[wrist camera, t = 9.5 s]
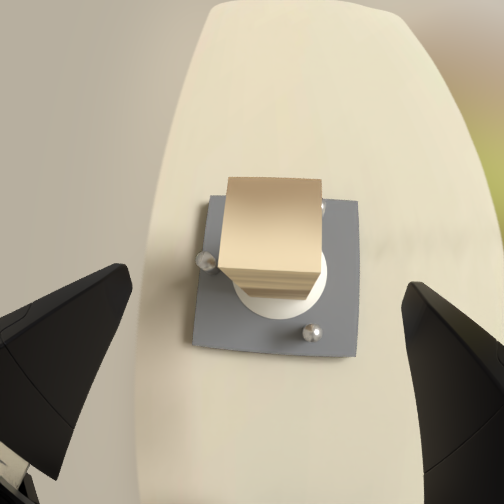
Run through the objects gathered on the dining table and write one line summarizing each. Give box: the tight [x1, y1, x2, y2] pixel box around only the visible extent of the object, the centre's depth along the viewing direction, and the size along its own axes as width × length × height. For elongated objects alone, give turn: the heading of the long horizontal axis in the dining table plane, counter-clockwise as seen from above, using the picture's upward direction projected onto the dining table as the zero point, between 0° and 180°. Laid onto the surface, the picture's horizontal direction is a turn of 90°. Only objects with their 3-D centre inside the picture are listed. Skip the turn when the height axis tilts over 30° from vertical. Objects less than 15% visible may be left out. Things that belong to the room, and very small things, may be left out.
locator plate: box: [192, 196, 360, 357], centre depth 21 cm, size 12×12×4 cm
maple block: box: [218, 177, 322, 300], centre depth 16 cm, size 4×4×10 cm
